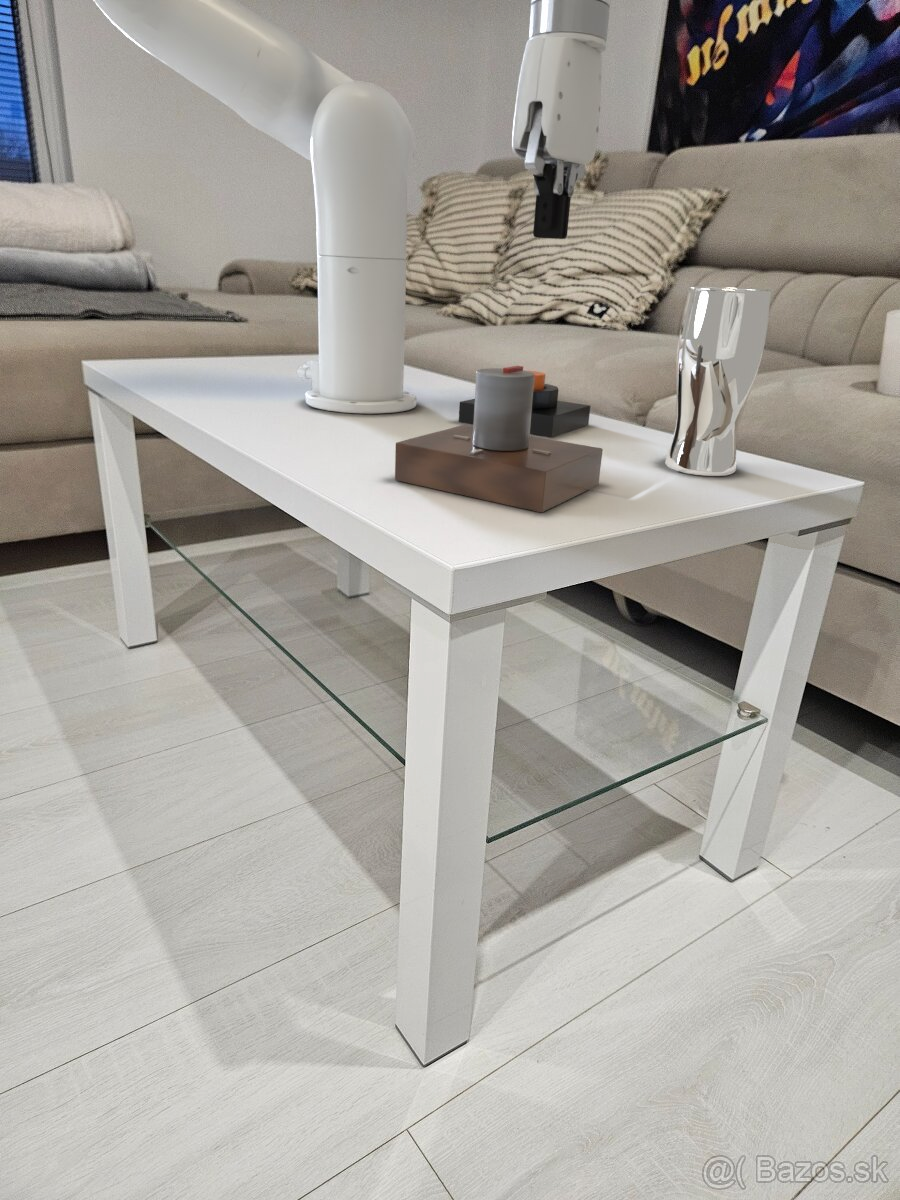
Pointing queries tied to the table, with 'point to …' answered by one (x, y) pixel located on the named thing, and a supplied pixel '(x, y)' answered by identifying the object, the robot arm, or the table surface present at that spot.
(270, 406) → the table surface
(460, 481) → the brown wooden base
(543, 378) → the button
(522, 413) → the knob
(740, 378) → the beer glass
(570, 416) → the button box
